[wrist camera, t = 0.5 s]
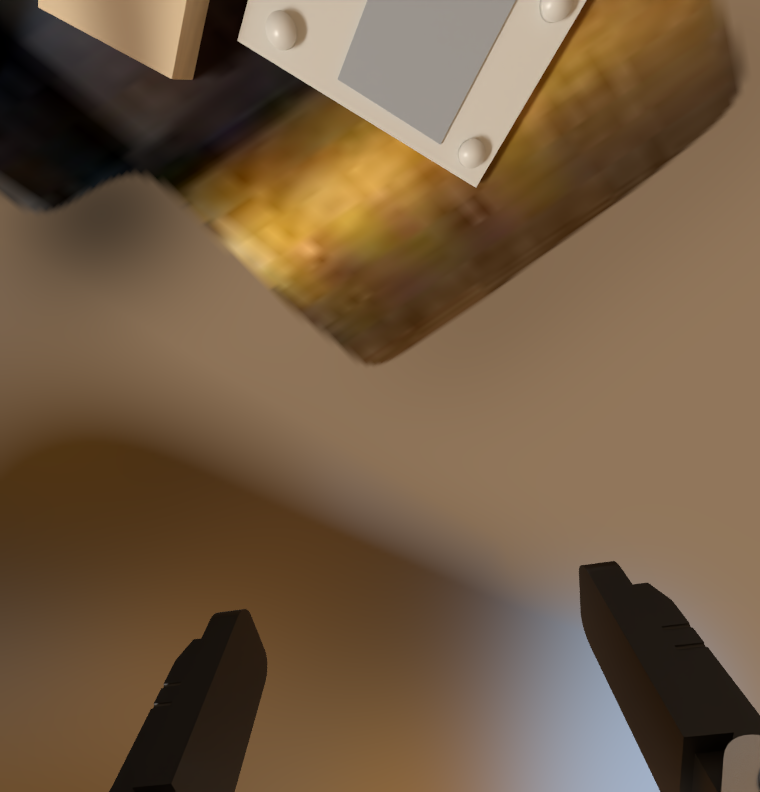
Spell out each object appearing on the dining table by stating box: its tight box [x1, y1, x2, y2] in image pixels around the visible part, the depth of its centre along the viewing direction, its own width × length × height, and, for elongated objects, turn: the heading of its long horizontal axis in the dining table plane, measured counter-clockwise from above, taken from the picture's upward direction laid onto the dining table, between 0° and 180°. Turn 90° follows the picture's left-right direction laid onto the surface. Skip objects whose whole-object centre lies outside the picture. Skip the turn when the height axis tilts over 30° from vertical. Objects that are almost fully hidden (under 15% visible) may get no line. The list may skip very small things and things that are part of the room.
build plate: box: [237, 0, 586, 187], centre depth 23 cm, size 16×11×2 cm
